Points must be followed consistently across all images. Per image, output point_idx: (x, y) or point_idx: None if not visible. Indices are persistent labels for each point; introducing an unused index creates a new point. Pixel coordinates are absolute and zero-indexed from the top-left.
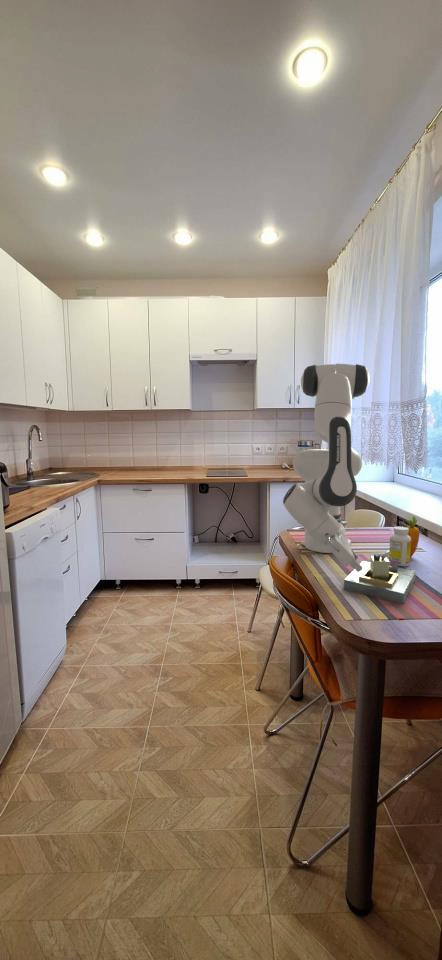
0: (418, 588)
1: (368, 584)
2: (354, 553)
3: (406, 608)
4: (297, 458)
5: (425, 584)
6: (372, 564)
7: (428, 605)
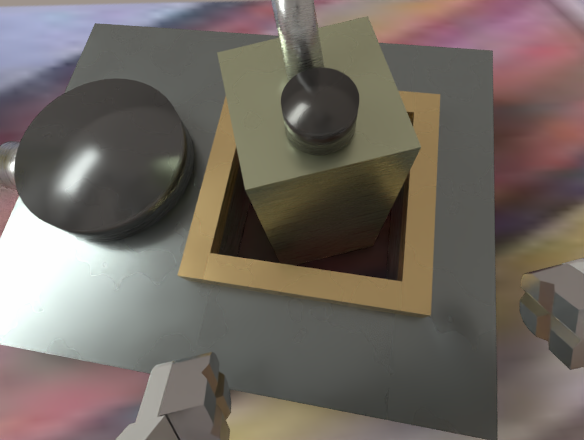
0: None
1: (478, 240)
2: (198, 406)
3: (511, 79)
4: None
5: (165, 27)
6: (377, 181)
7: (415, 10)
